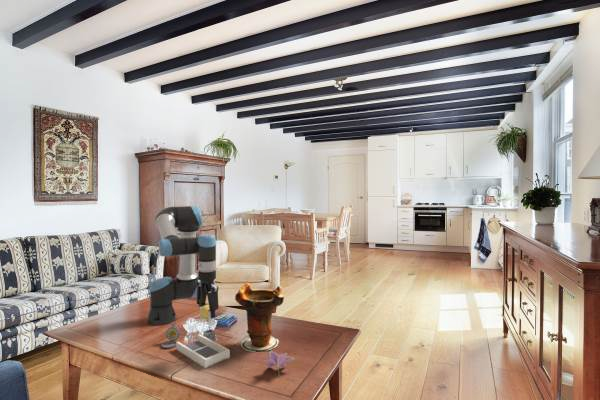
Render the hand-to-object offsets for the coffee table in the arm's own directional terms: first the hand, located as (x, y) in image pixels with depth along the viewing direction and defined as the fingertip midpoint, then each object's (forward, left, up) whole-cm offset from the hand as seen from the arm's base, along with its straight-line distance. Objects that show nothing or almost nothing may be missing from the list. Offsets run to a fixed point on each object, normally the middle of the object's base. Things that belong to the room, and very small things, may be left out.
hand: (207, 323), depth 145 cm
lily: (+32, +12, -15) cm, 37 cm away
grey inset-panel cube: (-14, +10, -15) cm, 23 cm away
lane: (-4, 0, -15) cm, 15 cm away
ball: (0, 0, +2) cm, 2 cm away
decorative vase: (+7, +24, -15) cm, 29 cm away
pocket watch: (-23, -5, -15) cm, 28 cm away
